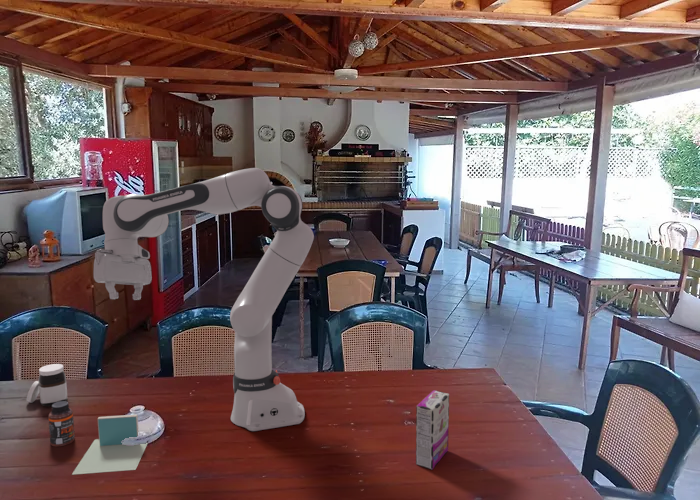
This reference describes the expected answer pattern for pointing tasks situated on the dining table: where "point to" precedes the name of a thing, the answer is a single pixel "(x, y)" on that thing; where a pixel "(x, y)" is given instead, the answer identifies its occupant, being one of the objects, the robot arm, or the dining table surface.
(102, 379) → the dining table surface
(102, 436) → the tile
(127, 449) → the mat
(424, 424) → the candy bar box
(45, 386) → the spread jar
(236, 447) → the dining table surface
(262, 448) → the dining table surface
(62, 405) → the supplement bottle
